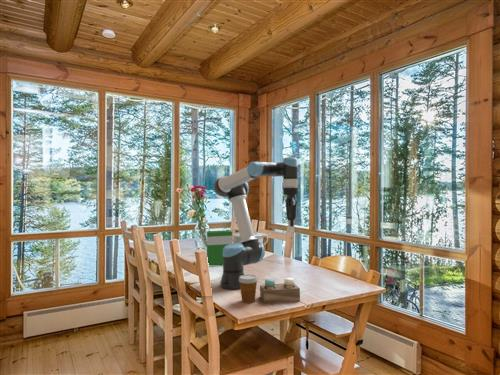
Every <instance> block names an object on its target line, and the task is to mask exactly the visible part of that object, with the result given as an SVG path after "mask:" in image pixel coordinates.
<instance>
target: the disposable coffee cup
mask: <svg viewBox="0 0 500 375" xmlns="http://www.w3.org/2000/svg"><path fill="white" fill-rule="evenodd" d="M258 280H259V279H258V277H257V275H255V274H244V275H242V276H240V277H239V282H240V294H241V295H240V296H241V301H242V303H245V304H252V303H254V302H256V301H255V300H256V292H257V282H258Z"/></svg>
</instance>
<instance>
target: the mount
mask: <svg viewBox="0 0 500 375" xmlns="http://www.w3.org/2000/svg"><path fill="white" fill-rule="evenodd" d="M259 297H260V300H262V302H263V303H264V304H272V303H273V304H274V303H283V302H284V303H287V302H298V301H301V288H300V287H299V286H298V285H297V284H296V283H295V282H294V285H292V287H291V288H286V285H285V284H284V283H275V286H273V289H267V286H265V284H259Z"/></svg>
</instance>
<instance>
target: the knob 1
mask: <svg viewBox="0 0 500 375" xmlns="http://www.w3.org/2000/svg"><path fill="white" fill-rule="evenodd" d="M275 282H276V281H275V279H273V278H266V279H265V280H264V285H265V286H267V289H273V286H275V284H276V283H275Z"/></svg>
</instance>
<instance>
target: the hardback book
mask: <svg viewBox="0 0 500 375" xmlns="http://www.w3.org/2000/svg"><path fill="white" fill-rule="evenodd" d="M232 234H233V231H231V230H228V229H227V230H225V229H224V230H223V229H222V230H207V231H206V258H207V257H208V263H209V265H219V266H223V248H224V247H225V246H226V245H229V244H233V236H232Z"/></svg>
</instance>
